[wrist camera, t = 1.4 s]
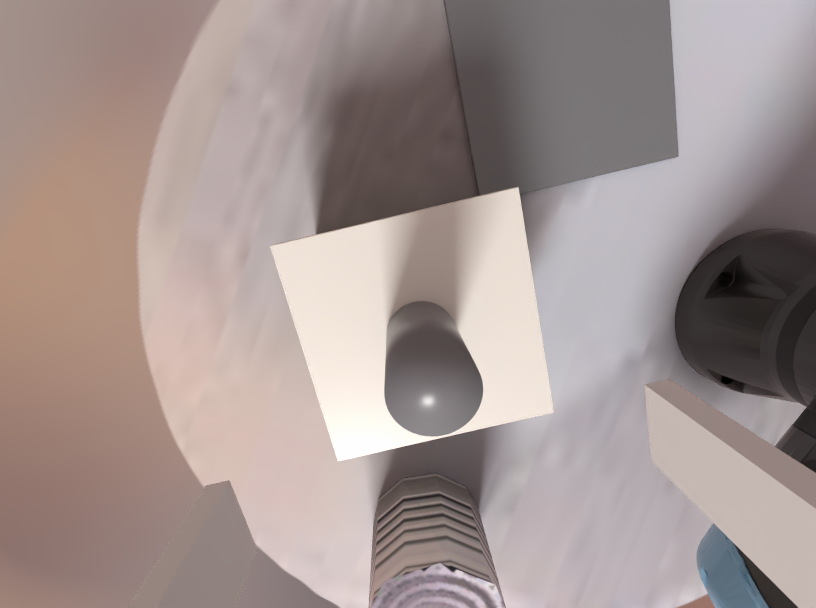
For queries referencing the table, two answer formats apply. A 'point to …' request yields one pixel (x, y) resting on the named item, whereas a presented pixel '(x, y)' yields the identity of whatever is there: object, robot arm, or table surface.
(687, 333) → the robot arm
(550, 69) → the mat
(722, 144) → the table surface
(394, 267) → the lid
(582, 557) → the table surface
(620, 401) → the table surface
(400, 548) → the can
